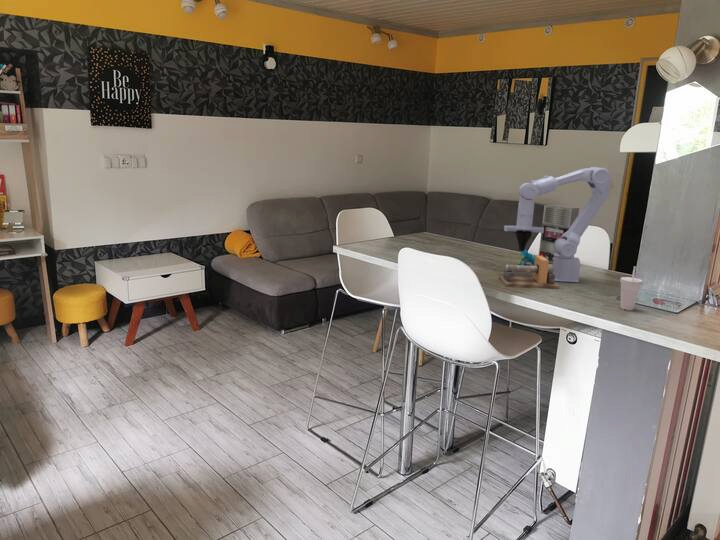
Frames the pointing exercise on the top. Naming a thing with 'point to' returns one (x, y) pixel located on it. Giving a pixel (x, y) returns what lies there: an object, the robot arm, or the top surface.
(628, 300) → the smoothie
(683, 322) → the top surface
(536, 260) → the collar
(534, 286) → the pipe rig
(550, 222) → the grey boxy piece
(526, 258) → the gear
